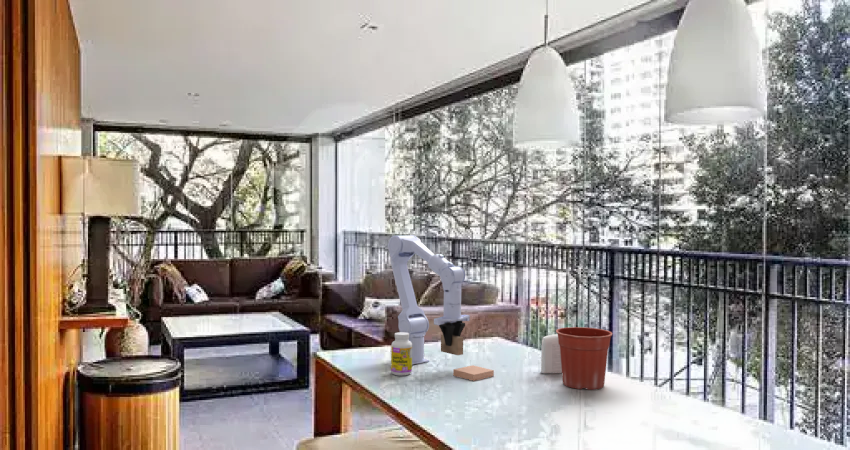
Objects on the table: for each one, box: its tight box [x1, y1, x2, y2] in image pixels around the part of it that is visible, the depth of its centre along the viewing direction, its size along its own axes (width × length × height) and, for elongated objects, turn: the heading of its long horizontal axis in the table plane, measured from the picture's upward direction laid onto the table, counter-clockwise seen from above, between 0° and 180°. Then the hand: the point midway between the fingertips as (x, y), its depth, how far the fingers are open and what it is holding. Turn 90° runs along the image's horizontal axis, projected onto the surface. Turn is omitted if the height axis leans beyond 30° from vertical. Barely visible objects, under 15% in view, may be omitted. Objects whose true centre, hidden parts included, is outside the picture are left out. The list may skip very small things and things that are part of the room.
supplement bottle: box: [390, 331, 413, 377], centre depth 209 cm, size 7×7×13 cm
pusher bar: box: [440, 333, 464, 356], centre depth 214 cm, size 8×2×6 cm, turn 42°
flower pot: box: [555, 326, 613, 391], centre depth 196 cm, size 16×16×16 cm
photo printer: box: [540, 333, 562, 374], centre depth 212 cm, size 10×4×12 cm, turn 98°
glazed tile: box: [452, 364, 495, 382], centre depth 207 cm, size 2×9×9 cm
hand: (451, 344), depth 214 cm, fingers closed on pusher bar, 2 cm apart
